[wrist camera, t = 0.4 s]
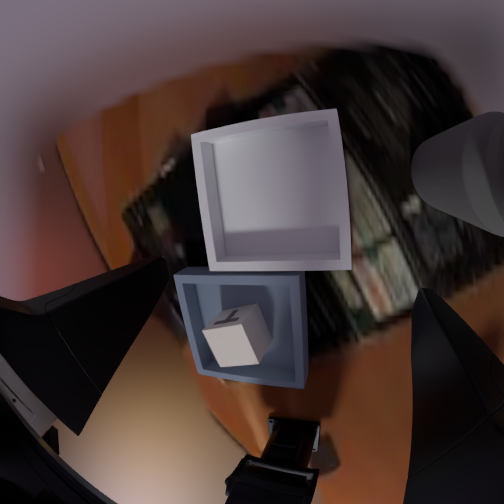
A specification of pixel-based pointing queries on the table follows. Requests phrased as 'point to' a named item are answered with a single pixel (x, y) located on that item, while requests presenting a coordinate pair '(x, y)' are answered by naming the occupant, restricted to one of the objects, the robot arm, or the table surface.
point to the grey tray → (274, 194)
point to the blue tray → (273, 310)
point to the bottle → (465, 171)
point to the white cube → (238, 336)
